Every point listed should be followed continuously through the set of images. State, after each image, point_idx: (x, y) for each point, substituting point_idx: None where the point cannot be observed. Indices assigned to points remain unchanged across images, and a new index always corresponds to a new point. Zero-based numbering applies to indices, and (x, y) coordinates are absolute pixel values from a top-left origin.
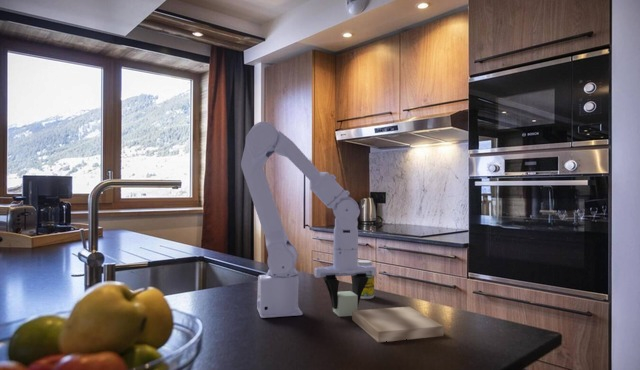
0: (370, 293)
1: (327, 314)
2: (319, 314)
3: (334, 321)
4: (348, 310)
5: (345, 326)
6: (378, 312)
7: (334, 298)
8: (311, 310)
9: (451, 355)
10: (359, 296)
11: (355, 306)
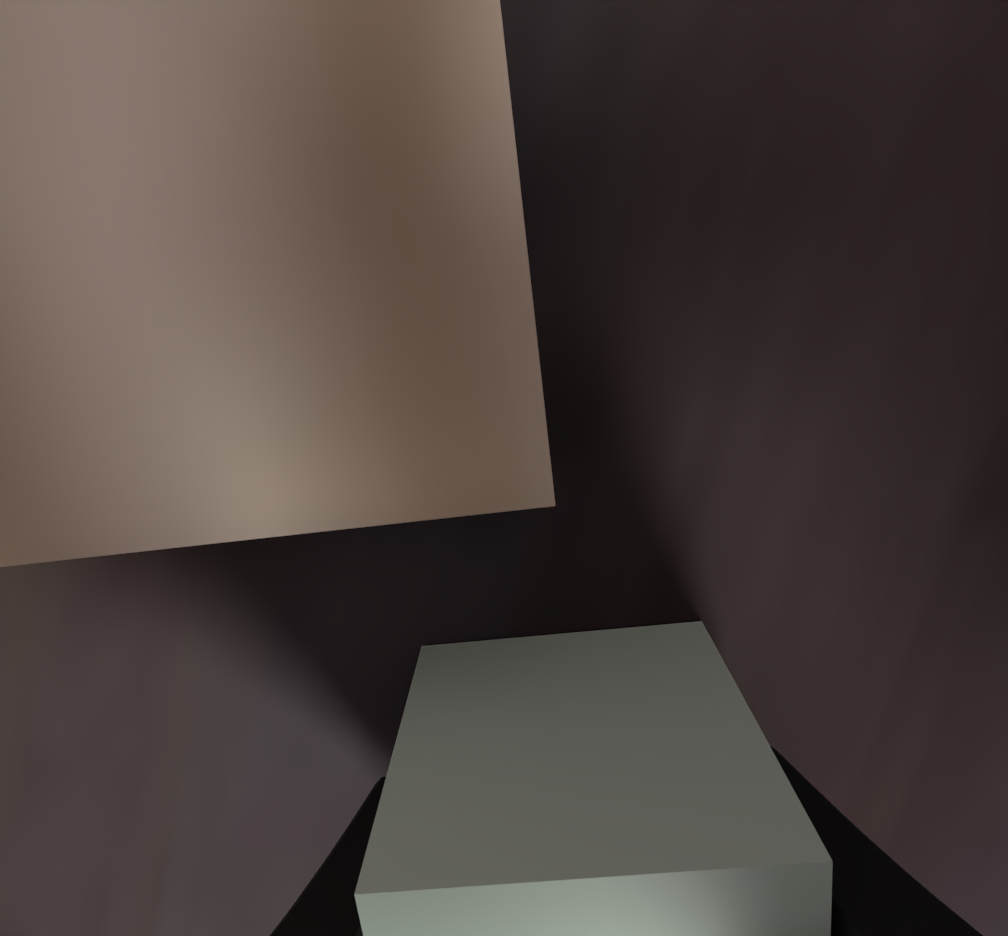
0: None
1: (826, 729)
2: (935, 742)
3: (831, 421)
4: (560, 678)
5: (740, 154)
6: (80, 341)
7: (888, 866)
8: (980, 903)
9: None
10: (307, 915)
11: (436, 726)
